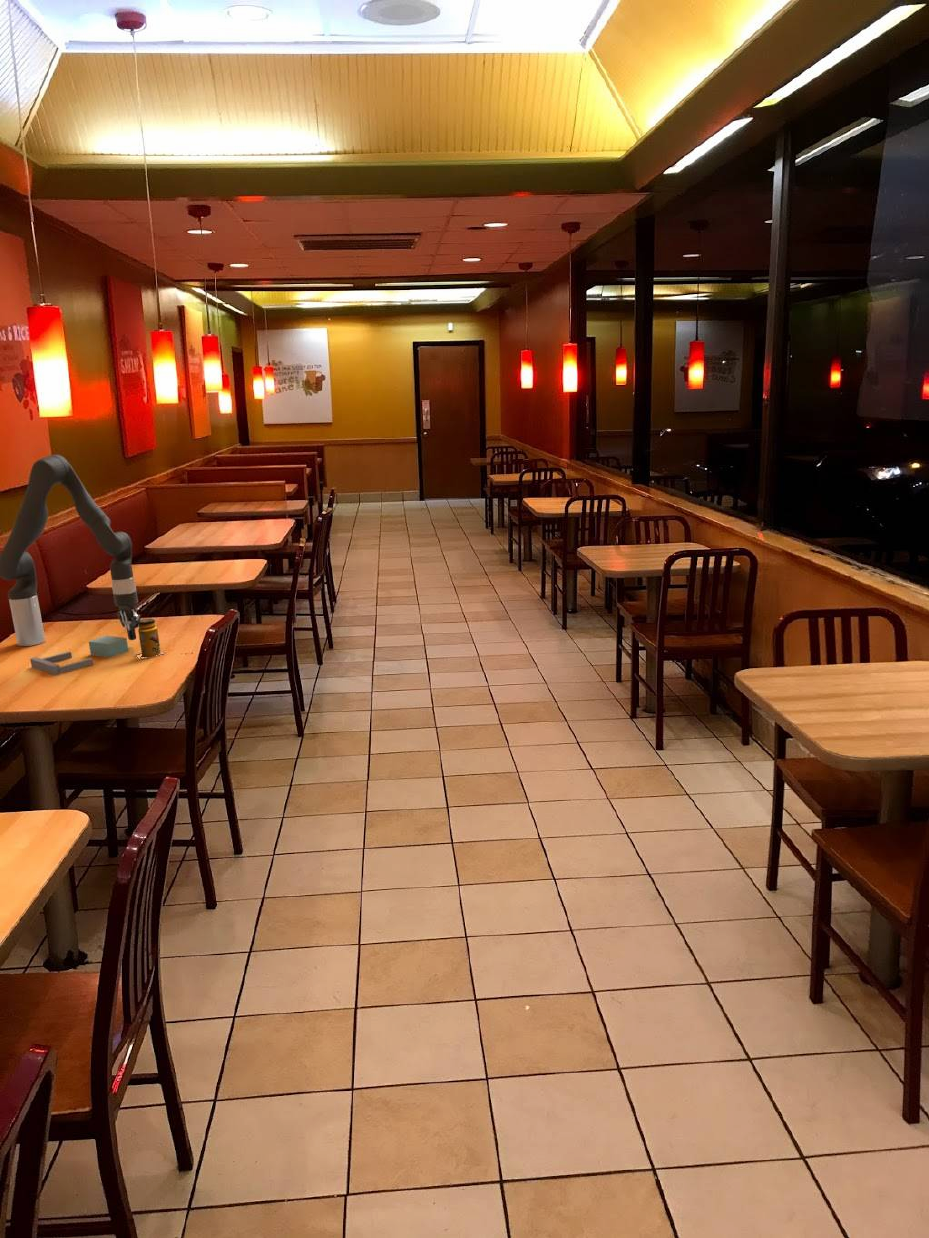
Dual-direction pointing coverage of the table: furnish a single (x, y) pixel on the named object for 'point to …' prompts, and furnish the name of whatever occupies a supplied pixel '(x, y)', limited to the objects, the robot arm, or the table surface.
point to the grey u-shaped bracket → (54, 669)
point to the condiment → (148, 638)
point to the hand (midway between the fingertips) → (132, 639)
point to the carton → (108, 646)
